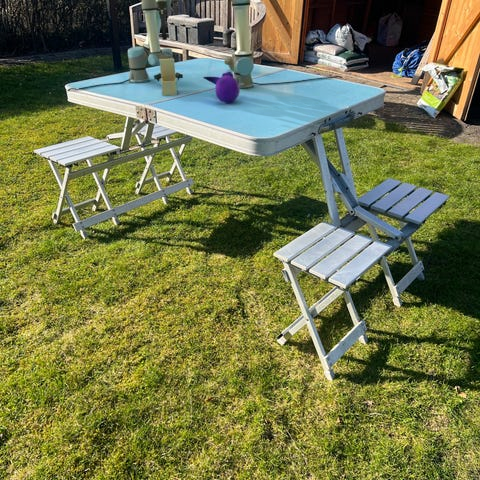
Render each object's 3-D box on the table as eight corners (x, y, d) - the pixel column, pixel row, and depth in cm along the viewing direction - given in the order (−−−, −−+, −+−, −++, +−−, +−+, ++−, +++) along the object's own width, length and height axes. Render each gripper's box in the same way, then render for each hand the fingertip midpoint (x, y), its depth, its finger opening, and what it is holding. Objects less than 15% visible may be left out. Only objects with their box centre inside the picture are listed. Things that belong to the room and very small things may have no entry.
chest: (177, 94, 297) (176, 81, 293) (162, 95, 296) (161, 81, 291) (176, 90, 308) (175, 77, 304) (162, 91, 307) (161, 77, 303)
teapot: (228, 72, 362) (227, 52, 355) (221, 70, 371) (220, 50, 364) (250, 69, 372) (250, 50, 364) (243, 67, 380) (243, 48, 373)
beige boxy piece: (174, 59, 292) (173, 51, 296) (159, 59, 290) (158, 51, 295) (175, 76, 303) (174, 69, 307) (161, 77, 302) (160, 69, 306)
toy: (226, 94, 295) (239, 108, 274) (200, 89, 287) (212, 104, 267) (231, 69, 287) (246, 82, 266) (206, 64, 279) (218, 77, 259)
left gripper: (186, 78, 333) (186, 83, 314) (152, 79, 330) (150, 85, 312) (185, 67, 329) (185, 72, 311) (151, 68, 327) (149, 74, 308)
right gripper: (167, 1, 263) (170, 40, 274) (167, -1, 285) (170, 36, 295) (154, 1, 262) (158, 41, 273) (155, 0, 284) (158, 36, 294)
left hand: (168, 78), depth 311 cm, fingers open, 13 cm apart
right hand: (164, 38), depth 284 cm, fingers open, 13 cm apart
